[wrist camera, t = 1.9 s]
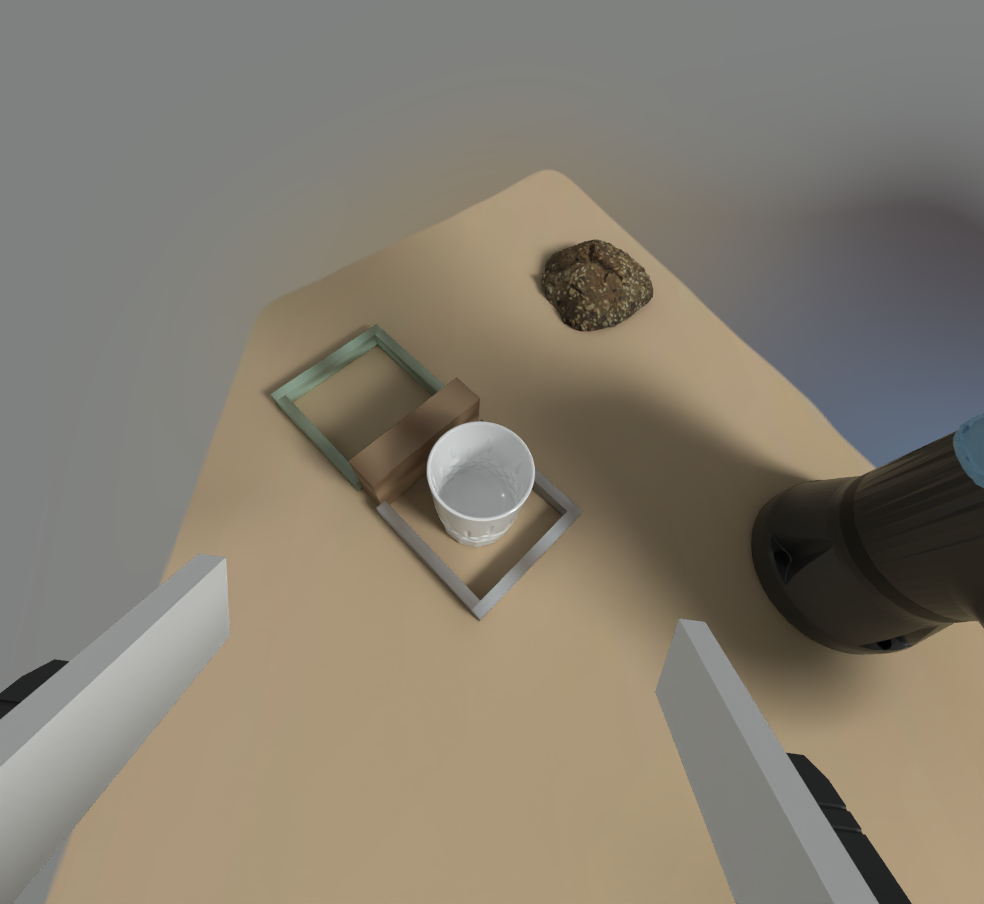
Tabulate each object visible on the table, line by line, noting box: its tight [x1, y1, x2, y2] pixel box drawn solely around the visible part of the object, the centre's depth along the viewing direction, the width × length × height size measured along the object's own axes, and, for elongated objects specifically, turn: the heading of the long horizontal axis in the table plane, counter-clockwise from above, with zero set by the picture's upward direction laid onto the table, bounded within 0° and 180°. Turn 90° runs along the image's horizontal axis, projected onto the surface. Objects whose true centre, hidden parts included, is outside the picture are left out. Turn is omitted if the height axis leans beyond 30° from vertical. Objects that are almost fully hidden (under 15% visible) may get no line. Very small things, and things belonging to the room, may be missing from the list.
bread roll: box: [541, 240, 653, 331], centre depth 53 cm, size 13×12×5 cm
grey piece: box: [270, 324, 583, 621], centre depth 41 cm, size 13×29×6 cm, turn 45°
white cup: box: [427, 421, 535, 547], centre depth 38 cm, size 8×8×10 cm
